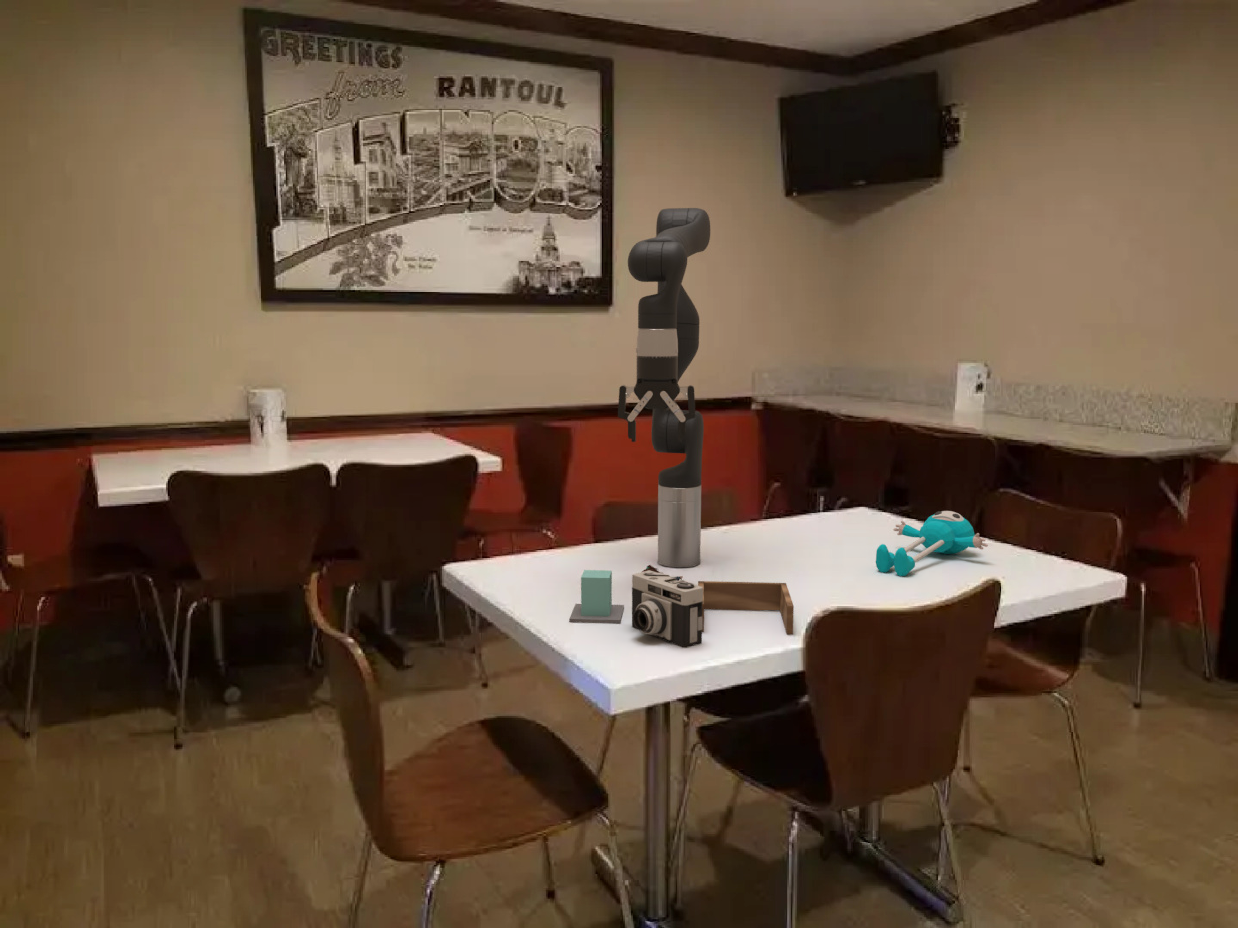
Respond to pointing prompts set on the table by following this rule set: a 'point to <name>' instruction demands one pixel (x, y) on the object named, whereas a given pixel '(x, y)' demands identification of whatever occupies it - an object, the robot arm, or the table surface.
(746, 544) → the table surface
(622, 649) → the table surface
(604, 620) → the mat
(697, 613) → the camera
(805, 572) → the table surface
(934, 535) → the toy
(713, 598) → the bay
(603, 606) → the block
